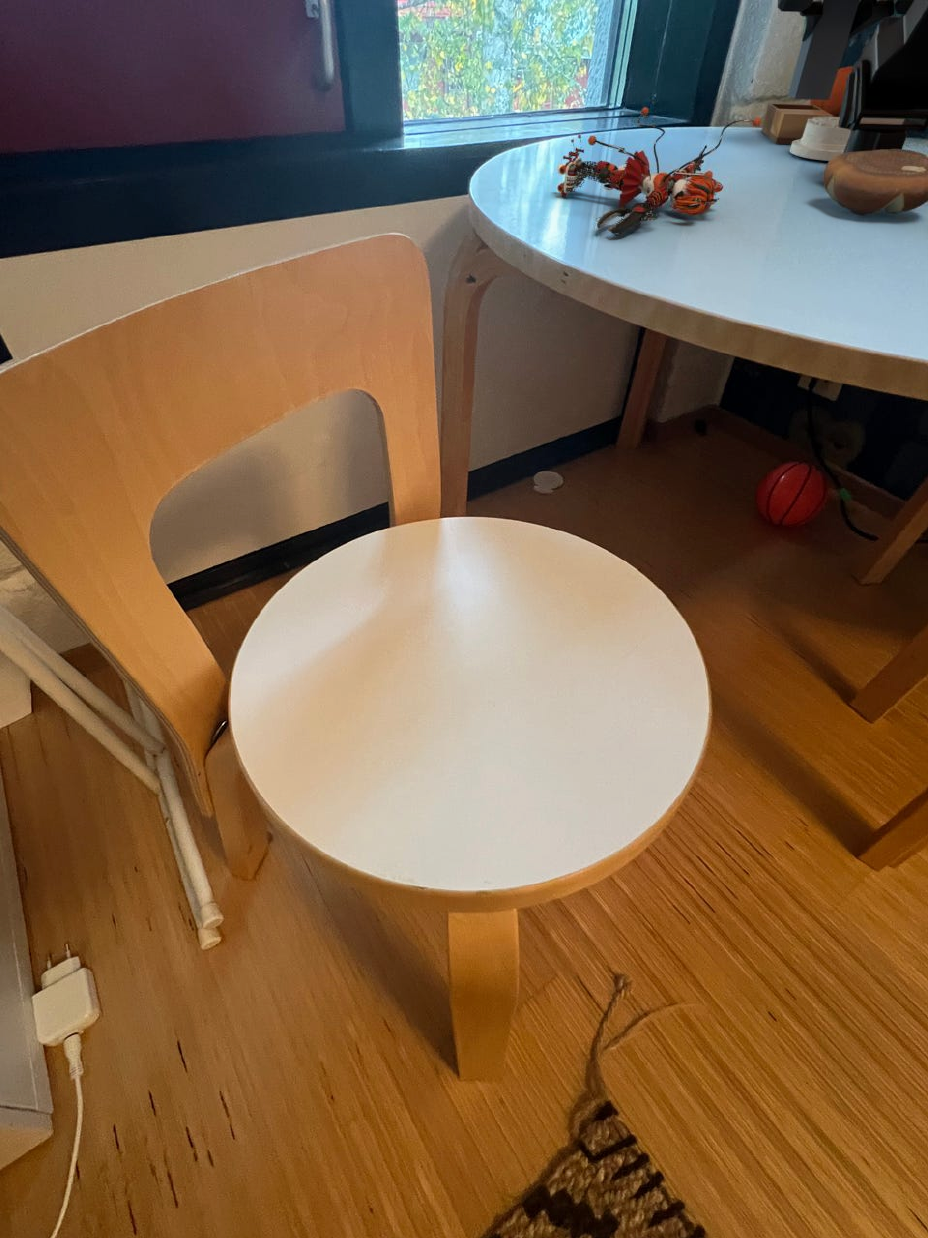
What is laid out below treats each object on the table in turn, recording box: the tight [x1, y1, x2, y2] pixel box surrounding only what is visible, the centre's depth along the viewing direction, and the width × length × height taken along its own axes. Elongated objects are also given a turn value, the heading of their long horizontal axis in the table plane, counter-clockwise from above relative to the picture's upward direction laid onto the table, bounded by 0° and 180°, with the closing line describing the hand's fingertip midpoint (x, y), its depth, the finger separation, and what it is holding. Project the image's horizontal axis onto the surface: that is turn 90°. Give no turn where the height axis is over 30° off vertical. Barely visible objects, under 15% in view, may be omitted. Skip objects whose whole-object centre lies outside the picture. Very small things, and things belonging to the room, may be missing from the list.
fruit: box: [809, 65, 854, 117], centre depth 118 cm, size 9×9×8 cm
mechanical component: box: [789, 117, 851, 162], centre depth 98 cm, size 10×4×10 cm
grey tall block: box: [787, 0, 861, 101], centre depth 97 cm, size 4×5×13 cm
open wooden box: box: [760, 102, 833, 145], centre depth 109 cm, size 11×7×4 cm
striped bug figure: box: [556, 106, 762, 237], centre depth 74 cm, size 25×9×20 cm
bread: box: [822, 148, 928, 216], centre depth 76 cm, size 11×11×5 cm
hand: (822, 38), depth 97 cm, fingers closed on grey tall block, 5 cm apart
